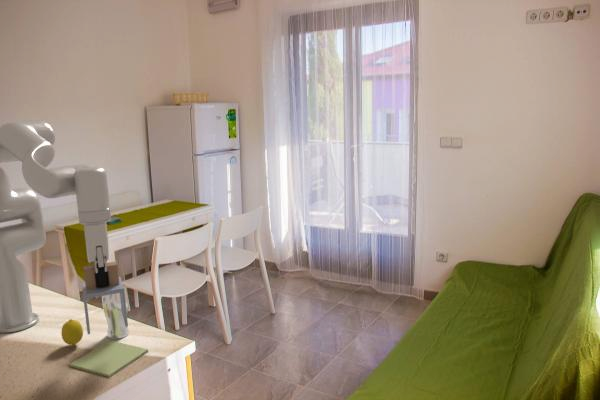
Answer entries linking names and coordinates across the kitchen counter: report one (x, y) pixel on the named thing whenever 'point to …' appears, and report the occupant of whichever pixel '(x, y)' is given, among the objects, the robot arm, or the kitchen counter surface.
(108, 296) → the beer glass
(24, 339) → the kitchen counter surface
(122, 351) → the mat
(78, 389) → the kitchen counter surface
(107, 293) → the cover
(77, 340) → the lemon
